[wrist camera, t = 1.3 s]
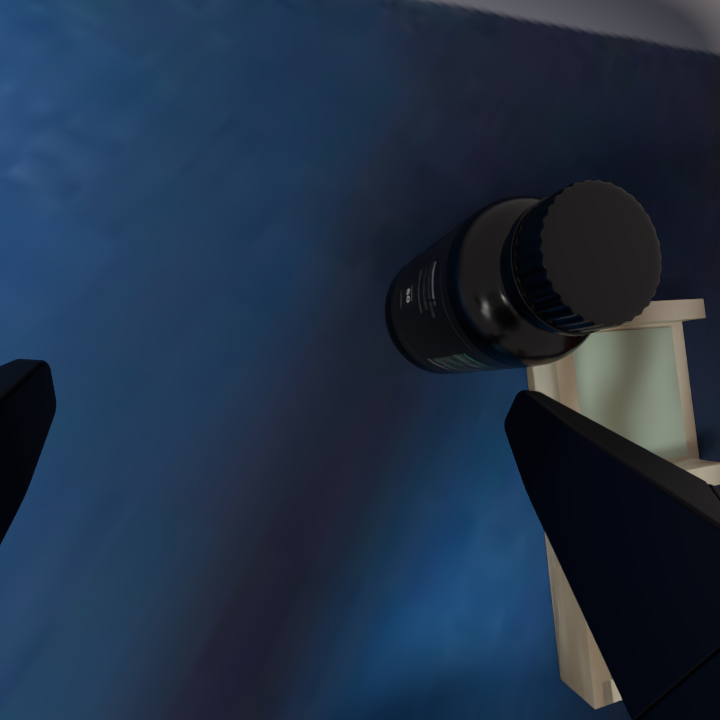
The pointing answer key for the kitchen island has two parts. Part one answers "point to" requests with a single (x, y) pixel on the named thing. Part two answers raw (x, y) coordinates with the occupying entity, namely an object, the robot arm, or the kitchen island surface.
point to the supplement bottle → (526, 281)
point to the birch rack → (634, 422)
